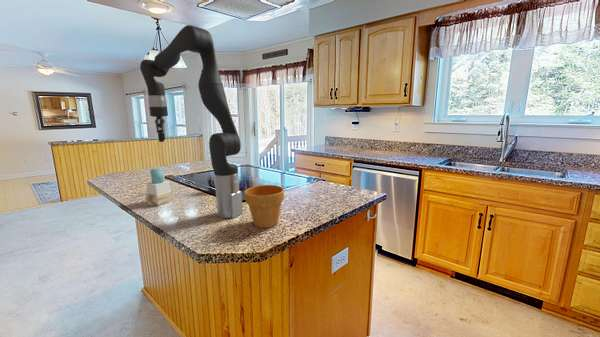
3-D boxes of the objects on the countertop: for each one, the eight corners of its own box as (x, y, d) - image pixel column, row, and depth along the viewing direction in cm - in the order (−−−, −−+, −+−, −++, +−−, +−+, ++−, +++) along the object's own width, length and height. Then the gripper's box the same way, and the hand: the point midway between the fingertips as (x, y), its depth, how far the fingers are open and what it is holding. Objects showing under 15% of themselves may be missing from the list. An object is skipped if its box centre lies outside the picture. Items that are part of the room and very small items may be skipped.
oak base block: (173, 201, 133) (172, 191, 132) (158, 206, 126) (157, 196, 125) (162, 199, 137) (161, 189, 136) (147, 204, 130) (145, 194, 129)
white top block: (170, 191, 132) (169, 181, 131) (157, 195, 126) (155, 185, 125) (161, 189, 135) (159, 179, 134) (147, 193, 130) (146, 183, 128)
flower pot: (238, 226, 103) (236, 192, 100) (262, 213, 115) (261, 183, 112) (269, 234, 96) (268, 198, 93) (292, 220, 108) (291, 187, 105)
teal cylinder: (166, 181, 131) (164, 168, 129) (156, 184, 126) (154, 171, 125) (159, 180, 133) (157, 168, 132) (149, 183, 129) (147, 170, 127)
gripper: (166, 105, 125) (170, 142, 129) (167, 105, 138) (171, 138, 142) (147, 106, 123) (152, 143, 126) (150, 106, 135) (154, 139, 139)
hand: (162, 140), depth 134 cm, fingers open, 8 cm apart
